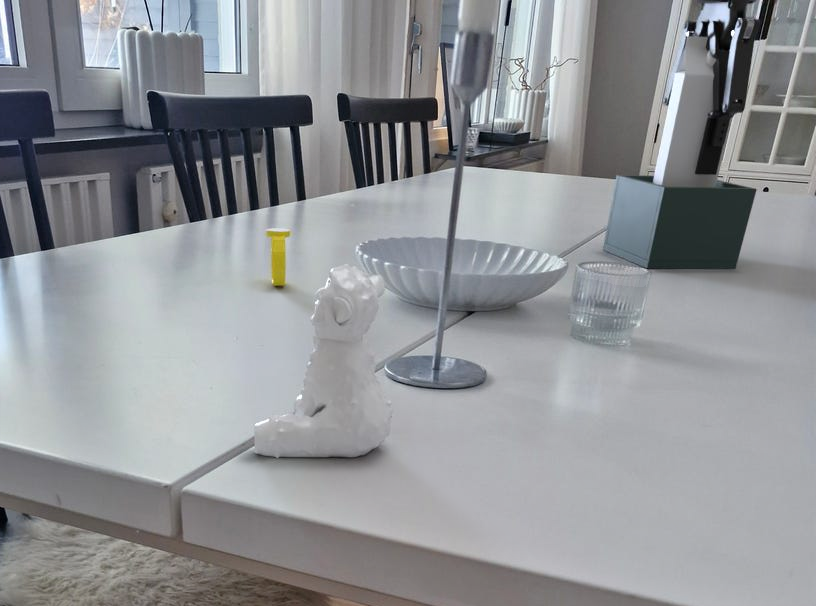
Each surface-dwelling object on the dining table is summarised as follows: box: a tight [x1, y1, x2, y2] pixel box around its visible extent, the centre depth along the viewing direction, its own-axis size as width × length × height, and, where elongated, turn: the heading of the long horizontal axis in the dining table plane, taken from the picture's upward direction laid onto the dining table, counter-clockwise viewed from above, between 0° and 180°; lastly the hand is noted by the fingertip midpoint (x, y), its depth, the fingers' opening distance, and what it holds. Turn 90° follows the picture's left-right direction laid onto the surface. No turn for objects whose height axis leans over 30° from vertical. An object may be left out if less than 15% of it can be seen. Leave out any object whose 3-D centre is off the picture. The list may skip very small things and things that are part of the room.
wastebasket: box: [602, 174, 758, 270], centre depth 126 cm, size 14×14×10 cm
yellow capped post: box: [265, 227, 291, 287], centre depth 104 cm, size 6×3×6 cm, turn 6°
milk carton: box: [653, 36, 743, 187], centre depth 120 cm, size 7×7×19 cm
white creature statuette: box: [253, 263, 394, 459], centre depth 60 cm, size 10×9×12 cm
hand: (686, 170), depth 123 cm, fingers closed on milk carton, 9 cm apart
